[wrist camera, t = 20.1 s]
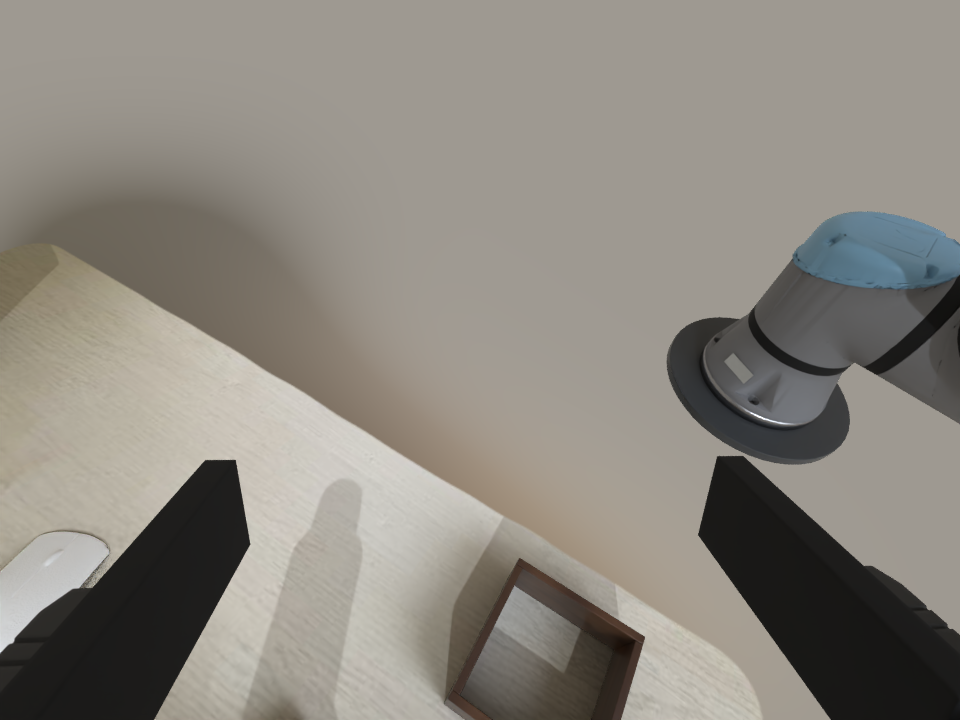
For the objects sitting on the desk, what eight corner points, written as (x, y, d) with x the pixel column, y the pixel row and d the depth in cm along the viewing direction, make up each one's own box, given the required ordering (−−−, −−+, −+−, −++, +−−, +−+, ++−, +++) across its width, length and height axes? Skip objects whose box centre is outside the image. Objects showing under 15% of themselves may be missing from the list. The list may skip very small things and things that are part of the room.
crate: (622, 647, 39) (645, 636, 35) (573, 801, 32) (594, 809, 29) (509, 574, 42) (519, 557, 38) (443, 703, 35) (447, 698, 31)
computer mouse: (119, 541, 40) (104, 532, 38) (6, 715, 32) (-18, 713, 30) (42, 526, 40) (25, 516, 38) (-88, 695, 32) (-118, 693, 30)
